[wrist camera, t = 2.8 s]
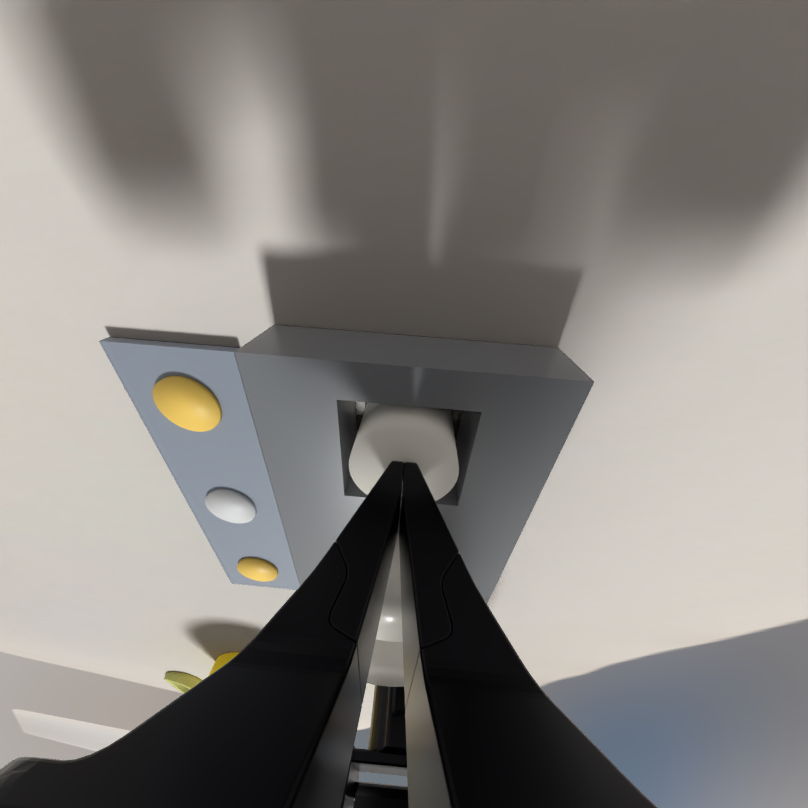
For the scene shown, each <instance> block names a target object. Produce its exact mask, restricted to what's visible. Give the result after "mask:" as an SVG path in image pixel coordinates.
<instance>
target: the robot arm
mask: <svg viewBox="0 0 808 808" xmlns="http://www.w3.org/2000/svg"><path fill="white" fill-rule="evenodd" d="M403 472H404V473H403ZM402 483H403V485H402ZM401 495H402V497H401ZM400 507H401V509H400ZM399 519H400V521H399ZM398 528H399V551H400V580H401V608H402V636H403V664H404V686H403V687H388V686H380V685H375V690H374V700H373V709H372V718H371V727H370V737H369V747H368V750H366V749H356V748H355V747H354V741H355V736H356V732H357V727H358V722H359V717H360V712H361V708H362V705H361V704H362V703H363V698H364V693H365V688H366V683H367V679H368V674H369V669H370V664H371V659H372V655H373V650H374V645H375V640H376V635H377V631H378V626H379V621H380V616H381V611H382V607H383V602H384V597H385V592H386V587H387V583H388V578H389V573H390V568H391V564H392V559H393V554H394V549H395V544H396V540H397V534H398ZM359 771H360V772H370V773H380V774H390V775H400V776H407V777H408V787H407V786H397V785H387V784H377V783H368V782H358V778H359ZM0 808H658V807H656V806H655V805H654V804H653V803H652V802H651V801H650V800H649V799H648V798H647V797H646V796H645V795H643V794H642V793H641V792H640V791H639V790H638V789H637V788H636V787H635V786H634V785H633V784H632V782H631V781H630V780H629V779H627V777H626V776H625V775H624V774H623V773H622V772H621V771H620V770H619V769H618V768H617V767H616V766H615V765H614V764H613V763H612V762H611V761H610V760H609V759H608V758H607V757H606V756H605V755H604V754H603V753H602V752H601V751H600V750H599V749H598V748H597V747H596V746H595V745H594V743H593V742H592V741H591V740H590V739H588V738H587V736H586V735H585V734H584V733H583V732H582V731H581V730H580V729H579V728H578V727H577V726H576V725H575V724H574V723H573V722H572V721H571V720H570V719H569V718H568V717H567V716H566V715H565V714H564V713H563V712H562V711H561V710H560V709H559V708H558V707H557V706H556V705H555V703H553V702H552V700H550V698H549V697H548V696H547V695H546V694H545V693H544V692H543V690H542V689H541V688H540V687H539V685H538V684H537V683H536V681H535V680H534V679H533V677H532V676H531V675H530V673H529V672H528V670H527V669H526V667H525V666H524V664H523V663H522V661H521V659H520V658H519V656H518V655H517V653H516V651H515V650H514V648H513V646H512V645H511V643H510V642H509V640H508V638H507V637H506V635H505V633H504V632H503V630H502V628H501V627H500V625H499V624H498V622H497V620H496V619H495V617H494V615H493V614H492V612H491V610H490V609H489V607H488V606H487V604H486V602H485V600H484V599H483V597H482V595H481V593H480V592H479V590H478V588H477V587H476V585H475V583H474V581H473V579H472V577H471V575H470V573H469V571H468V569H467V567H466V565H465V563H464V561H463V559H462V556H461V555H460V554H459V550H458V548H457V546H456V544H455V542H454V540H453V538H452V536H451V534H450V531H449V529H448V527H447V525H446V523H445V521H444V519H443V517H442V515H441V512H440V510H439V508H438V506H437V504H436V502H435V500H434V498H433V496H432V493H431V491H430V489H429V487H428V485H427V483H426V481H425V479H424V477H423V474H422V472H421V470H420V468H419V466H418V464H417V463H414V462H405V463H404V462H402V461H391V462H390V464H389V465H388V467H387V468H386V470H385V471H384V472H383V474H382V475H381V477H380V478H379V479H378V481H377V482H376V484H375V485H374V487H373V488H372V489H371V491H370V492H369V494H368V495H367V496H366V498H365V499H364V501H363V502H362V504H361V505H360V506H359V508H358V509H357V511H356V512H355V513H354V515H353V516H352V518H351V519H350V521H349V522H348V523H347V525H346V526H345V528H344V529H343V530H342V532H341V533H340V535H339V536H338V538H337V539H336V542H334V543H333V544H332V546H331V547H330V549H329V550H328V551H327V553H326V554H325V556H324V557H323V558H322V560H321V561H320V562H319V564H318V565H317V566H316V568H315V569H314V570H313V571H312V573H311V574H310V575H309V576H308V577H307V579H306V580H305V581H304V582H303V583H302V584H301V586H300V587H299V588H298V589H297V590H296V591H295V593H294V594H293V595H292V596H291V597H290V598H289V599H288V601H287V602H286V603H285V604H284V605H283V606H282V607H281V608H280V610H279V611H278V612H277V613H276V614H275V615H274V616H273V617H272V619H271V620H270V621H269V622H268V623H267V624H266V625H265V627H264V628H263V629H262V630H261V631H260V632H259V633H258V634H257V635H256V637H255V638H254V639H253V640H252V641H251V642H250V643H249V644H248V645H247V646H246V647H245V648H244V649H243V650H242V651H241V652H240V653H239V654H237V655H236V656H235V657H234V658H233V659H231V660H230V661H229V662H228V663H226V664H225V665H224V666H222V667H221V668H220V669H218V670H217V671H215V672H214V673H213V674H211V675H210V676H208V677H207V678H205V679H204V680H203V681H201V682H200V683H198V684H197V685H196V686H194V687H193V688H191V689H190V690H188V691H187V692H186V693H184V694H183V695H181V696H180V697H179V698H177V699H176V700H174V701H173V702H172V703H170V704H169V705H167V706H166V707H165V708H163V709H162V710H160V711H159V712H157V713H156V714H155V715H153V716H152V717H150V718H149V719H148V720H146V721H145V722H143V723H142V724H140V725H139V726H138V727H136V728H135V729H133V730H132V731H131V732H129V733H128V734H126V735H125V736H123V737H122V738H120V739H119V740H117V741H115V742H114V743H112V744H111V745H109V746H107V747H105V748H103V749H101V750H99V751H97V752H95V753H93V754H91V755H88V756H85V757H82V758H78V759H75V760H56V759H46V758H37V757H21V758H17V759H15V760H13V761H11V762H10V763H8V764H7V765H6V766H4V767H3V768H2V769H0Z"/></svg>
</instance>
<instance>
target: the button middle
mask: <svg viewBox="0 0 808 808" xmlns="http://www.w3.org/2000/svg"><path fill="white" fill-rule="evenodd" d="M376 639H377V640H382V641H390V642H403V636H402V608H401V580H400V551H399V533H398V534H397V540H396V544H395V549H394V554H393V559H392V564H391V568H390V573H389V578H388V583H387V587H386V592H385V597H384V602H383V607H382V611H381V616H380V621H379V626H378V631H377V635H376Z"/></svg>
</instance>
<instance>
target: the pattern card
mask: <svg viewBox="0 0 808 808" xmlns="http://www.w3.org/2000/svg"><path fill="white" fill-rule="evenodd" d="M99 342H100V344H101V345H102V347H103V349H104V351H105V353H106V355H107V356H108V358H109V360H110V362H111V364H112V366H113V367H114V369H115V371H116V373H117V375H118V377H119V378H120V380H121V382H122V384H123V386H124V387H125V389H126V391H127V393H128V395H129V397H130V398H131V400H132V402H133V404H134V406H135V408H136V409H137V411H138V413H139V415H140V417H141V419H142V420H143V422H144V424H145V426H146V428H147V430H148V431H149V433H150V435H151V437H152V439H153V441H154V442H155V444H156V446H157V448H158V450H159V452H160V453H161V455H162V457H163V459H164V461H165V462H166V464H167V466H168V468H169V470H170V472H171V473H172V475H173V477H174V479H175V481H176V483H177V484H178V486H179V488H180V490H181V492H182V494H183V495H184V497H185V499H186V501H187V503H188V505H189V506H190V508H191V510H192V512H193V514H194V516H195V517H196V519H197V521H198V523H199V525H200V527H201V528H202V530H203V532H204V534H205V536H206V537H207V539H208V541H209V543H210V545H211V547H212V548H213V550H214V552H215V554H216V556H217V558H218V559H219V561H220V563H221V565H222V567H223V569H224V570H225V572H226V574H227V576H228V578H229V580H230V581H231V583H232V584H243V585H253V586H263V587H273V588H283V589H293V590H297V589H298V588H299V587H300V583H299V579H298V576H297V572H296V569H295V565H294V561H293V558H292V554H291V551H290V547H289V544H288V540H287V537H286V533H285V530H284V526H283V522H282V519H281V515H280V512H279V508H278V505H277V501H276V498H275V494H274V491H273V487H272V483H271V480H270V476H269V473H268V469H267V466H266V462H265V459H264V455H263V452H262V448H261V444H260V441H259V437H258V434H257V430H256V427H255V423H254V420H253V416H252V413H251V409H250V406H249V402H248V398H247V395H246V391H245V388H244V384H243V381H242V377H241V374H240V370H239V367H238V363H237V359H236V356H235V351H237V350H238V349H240V348H234V347H222V346H210V345H198V344H186V343H174V342H162V341H149V340H137V339H125V338H113V337H108V338H106V339H103V340H100V341H99Z"/></svg>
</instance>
